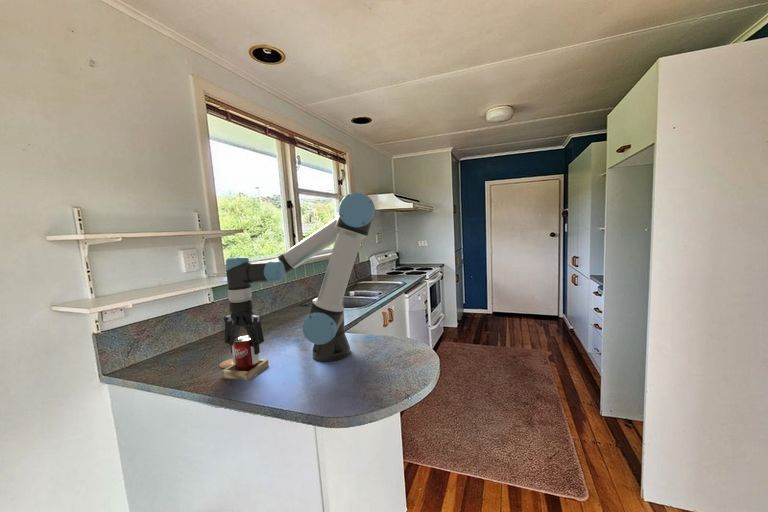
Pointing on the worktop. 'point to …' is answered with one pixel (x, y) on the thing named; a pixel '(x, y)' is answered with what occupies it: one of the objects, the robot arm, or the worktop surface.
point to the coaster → (226, 363)
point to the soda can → (243, 353)
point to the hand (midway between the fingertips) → (246, 362)
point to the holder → (244, 375)
